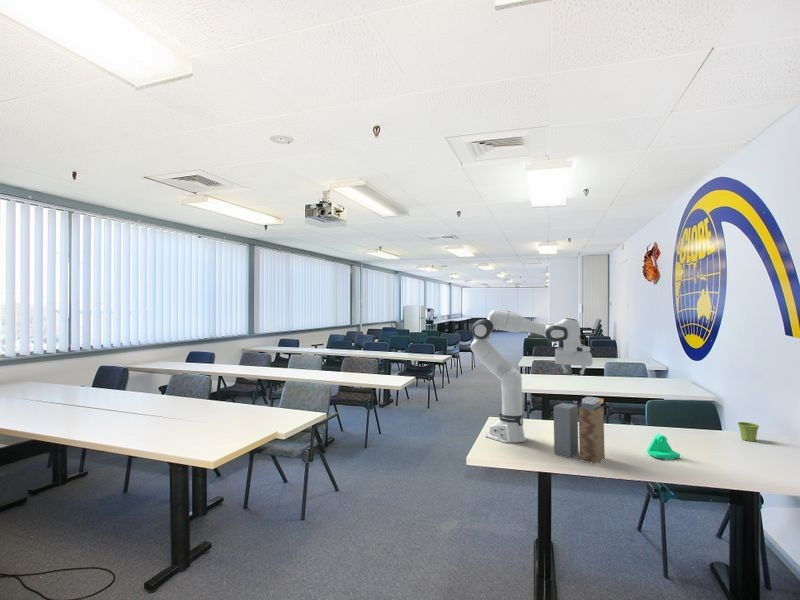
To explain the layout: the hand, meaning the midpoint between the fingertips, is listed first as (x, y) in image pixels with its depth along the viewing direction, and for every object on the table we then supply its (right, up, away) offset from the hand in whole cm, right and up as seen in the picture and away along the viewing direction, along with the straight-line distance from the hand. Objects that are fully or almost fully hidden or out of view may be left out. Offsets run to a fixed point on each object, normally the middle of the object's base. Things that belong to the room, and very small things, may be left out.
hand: (573, 373), depth 230 cm
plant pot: (+99, -38, +4) cm, 106 cm away
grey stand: (-10, -38, -15) cm, 42 cm away
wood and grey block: (+2, -13, -20) cm, 24 cm away
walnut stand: (-1, -38, -24) cm, 45 cm away
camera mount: (+36, -38, -22) cm, 56 cm away
